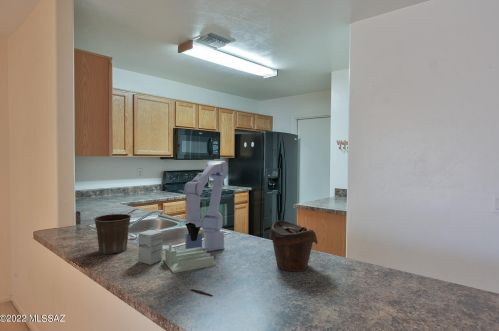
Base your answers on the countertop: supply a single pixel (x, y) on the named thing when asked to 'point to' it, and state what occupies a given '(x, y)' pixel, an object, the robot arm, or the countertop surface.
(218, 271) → the countertop surface
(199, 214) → the robot arm
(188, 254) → the dish rack
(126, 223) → the plant pot
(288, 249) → the brown covered basket
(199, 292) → the fork
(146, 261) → the supplement box
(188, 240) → the slate blue tile
